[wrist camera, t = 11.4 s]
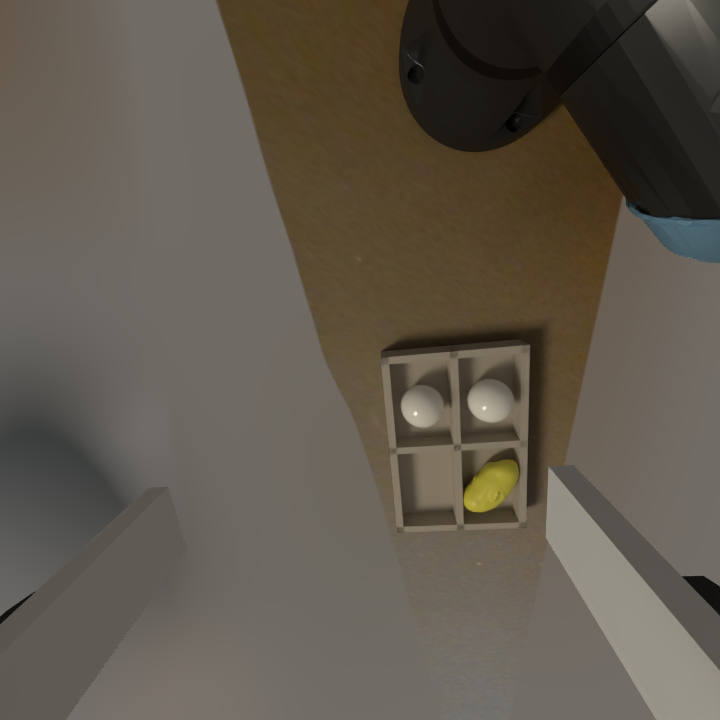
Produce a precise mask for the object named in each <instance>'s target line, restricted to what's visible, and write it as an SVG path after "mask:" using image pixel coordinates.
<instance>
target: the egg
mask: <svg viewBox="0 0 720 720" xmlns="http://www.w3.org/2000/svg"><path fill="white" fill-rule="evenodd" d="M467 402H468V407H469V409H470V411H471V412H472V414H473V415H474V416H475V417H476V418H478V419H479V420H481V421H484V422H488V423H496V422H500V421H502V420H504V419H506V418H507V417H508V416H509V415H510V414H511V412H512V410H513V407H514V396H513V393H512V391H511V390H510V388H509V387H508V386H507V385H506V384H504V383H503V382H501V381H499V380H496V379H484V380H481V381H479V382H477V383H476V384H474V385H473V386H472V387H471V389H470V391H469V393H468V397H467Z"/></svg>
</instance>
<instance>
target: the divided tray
mask: <svg viewBox="0 0 720 720" xmlns="http://www.w3.org/2000/svg"><path fill="white" fill-rule="evenodd" d="M381 366H382V376H383V386H384V397H385V407H386V418H387V428H388V439H389V449H390V460H391V470H392V481H393V491H394V502H395V512H396V523H397V532H425V531H453V530H480V529H508V528H526V505H527V460H528V415H529V370H530V345H529V344H527V343H526V342H524V341H522V340H520V339H516V340H505V341H493V342H482V343H471V344H460V345H448V346H437V347H426V348H414V349H403V350H392V351H381ZM484 379H496V380H499V381H501V382H503V383H504V384H506V385H507V386H508V387H509V388H510V390H511V391H512V393H513V396H514V407H513V410H512V412H511V414H510V415H509V416H508V417H507V418H506V419H504V420H502V421H500V422H496V423H488V422H484V421H481V420H479V419H478V418H476V417H475V416H474V415H473V414H472V412H471V411H470V409H469V407H468V402H467V397H468V393H469V391H470V389H471V387H472V386H473V385H474V384H476V383H477V382H479V381H481V380H484ZM416 385H428V386H431V387H433V388H434V389H436V390H437V391H438V392H439V393H440V394H441V396H442V398H443V401H444V413H443V416H442V418H441V419H440V420H439V422H438V423H436V424H435V425H433V426H431V427H428V428H419V427H415V426H413V425H411V424H410V423H409V422H408V421H407V420H406V419H405V418H404V416H403V414H402V411H401V401H402V398H403V396H404V394H405V393H406V391H407V390H409V389H410V388H412V387H414V386H416ZM504 459H510V460H513V461H515V462H516V463H517V464H518V468H519V478H518V481H517V483H516V485H515V487H514V489H513V490H512V491H511V493H510V494H509V495H508V497H507V498H506V499H505V500H504V501H503V502H502V503H501V504H500V505H499V506H497V507H496V508H494V509H491V510H489V511H486V512H473V511H470V510H469V509H467V508H466V507H465V505H464V503H463V493H464V489H465V487H466V486H467V485H468V484H469V483H470V482H471V481H472V480H473V478H474V476H475V475H477V474H478V472H479V471H480V470H481V468H482V467H483V466H484V465H485V464H486V463H488V462H497V461H500V460H504Z"/></svg>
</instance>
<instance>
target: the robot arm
mask: <svg viewBox="0 0 720 720" xmlns="http://www.w3.org/2000/svg"><path fill="white" fill-rule="evenodd" d="M399 74H400V82H401V87H402V91H403V94H404V98H405V100H406V103H407V105H408V108H409V110H410V112H411V113H412V115H413V117H414V118H415V120H416V121H417V123H418V124H419V125H420V126H421V128H422V129H423V130H424V131H425V132H426V133H427V134H428V135H430V136H431V137H432V138H433V139H435V140H436V141H438V142H440V143H441V144H443V145H445V146H448V147H450V148H453V149H456V150H461V151H467V152H482V151H489V150H494V149H497V148H500V147H503V146H506V145H508V144H510V143H512V142H514V141H516V140H517V139H519V138H521V137H522V136H524V135H525V134H526V133H528V132H529V131H530V130H531V129H533V128H534V127H535V126H536V125H537V124H538V123H539V122H540V121H541V120H542V119H543V118H544V117H545V116H546V115H547V114H548V113H549V112H550V111H551V110H552V109H553V108H554V106H555V105H556V104H557V103H558V101H559V100H561V101H562V103H563V104H564V106H565V107H566V109H567V110H568V112H569V113H570V115H571V116H572V118H573V119H574V121H575V122H576V124H577V125H578V127H579V128H580V130H581V131H582V133H583V134H584V136H585V137H586V139H587V140H588V142H589V143H590V145H591V146H592V148H593V149H594V151H595V153H596V154H597V156H598V157H599V159H600V160H601V162H602V163H603V165H604V166H605V168H606V169H607V171H608V172H609V174H610V175H611V177H612V178H613V180H614V181H615V183H616V184H617V186H618V187H619V189H620V190H621V192H622V193H623V195H624V196H625V198H626V205H627V207H628V208H629V210H630V211H631V212H632V213H633V214H634V215H636V216H637V217H639V218H641V219H643V221H644V222H645V223H646V224H647V226H648V227H649V228H650V230H651V231H652V232H653V233H654V235H655V236H656V237H657V239H658V240H659V241H660V242H661V243H662V244H663V246H664V247H666V248H667V249H668V250H670V251H671V252H673V253H675V254H677V255H679V256H684V257H690V258H693V259H697V260H699V261H702V262H709V263H720V0H409V2H408V5H407V8H406V12H405V16H404V20H403V24H402V30H401V38H400V50H399ZM546 538H547V540H548V542H549V543H550V545H551V547H552V548H553V550H554V552H555V553H556V555H557V556H558V558H559V560H560V561H561V563H562V565H563V566H564V568H565V570H566V571H567V573H568V575H569V576H570V578H571V580H572V581H573V583H574V584H575V586H576V588H577V589H578V591H579V593H580V594H581V596H582V598H583V599H584V601H585V603H586V604H587V606H588V608H589V609H590V611H591V613H592V614H593V616H594V618H595V619H596V621H597V622H598V624H599V626H600V627H601V629H602V631H603V632H604V634H605V636H606V637H607V639H608V641H609V642H610V644H611V646H612V647H613V649H614V651H615V652H616V654H617V655H618V657H619V659H620V660H621V662H622V664H623V665H624V667H625V669H626V670H627V672H628V674H629V675H630V677H631V679H632V680H633V682H634V684H635V685H636V687H637V688H638V690H639V692H640V693H641V695H642V696H643V698H644V700H645V702H646V703H647V705H648V707H649V708H650V710H651V711H652V713H653V715H654V717H655V718H656V720H720V587H719V586H718V585H717V584H715V583H713V582H712V581H710V580H709V579H707V578H706V577H704V576H681V575H680V574H679V573H678V572H677V571H676V570H675V569H674V568H673V567H672V566H671V565H670V564H669V563H668V562H667V561H666V560H665V559H664V558H663V557H662V556H661V555H660V554H659V553H658V552H657V551H656V550H655V549H654V547H653V546H652V545H651V544H650V543H649V542H648V541H646V539H645V538H644V537H643V536H642V535H641V534H640V533H639V532H638V531H637V530H636V529H635V528H634V527H633V526H632V525H631V524H630V523H629V522H628V521H627V520H626V519H625V518H624V517H623V516H622V515H621V513H620V512H619V511H617V509H616V508H614V506H613V505H612V504H611V503H610V502H609V501H608V500H607V499H606V498H605V497H604V496H603V495H602V494H601V493H600V492H599V491H598V490H597V489H596V488H595V487H594V486H593V485H592V484H591V483H590V482H589V481H588V480H587V479H586V477H584V475H583V474H582V473H581V472H580V471H579V470H578V469H577V468H576V467H575V466H573V465H571V466H552V467H549V472H548V497H547V521H546ZM185 551H186V546H185V542H184V539H183V536H182V532H181V529H180V525H179V522H178V519H177V515H176V512H175V508H174V505H173V501H172V498H171V495H170V491H169V488H168V487H154V488H148V489H147V490H146V491H145V492H143V493H142V494H141V495H140V496H139V497H138V498H137V499H136V500H135V501H134V502H132V503H131V504H130V505H129V506H128V507H127V508H126V509H125V510H124V511H123V512H122V513H121V514H119V515H118V516H117V517H116V518H115V519H114V520H113V521H112V522H111V523H110V524H109V525H108V526H107V527H105V528H104V529H103V530H102V531H101V532H100V533H99V534H98V535H97V536H96V537H95V538H93V539H92V540H91V541H90V542H89V543H88V544H87V545H86V546H85V547H84V548H83V549H82V550H80V551H79V552H78V553H77V554H76V555H75V556H74V557H73V558H72V559H71V560H70V561H69V562H67V563H66V564H65V565H64V566H63V567H62V568H61V569H60V570H59V571H58V572H57V573H56V574H54V576H52V577H51V578H50V579H49V580H48V581H47V582H46V583H45V584H44V585H42V586H41V587H40V588H39V589H38V590H37V591H36V592H34V593H32V594H30V595H29V596H28V597H26V598H25V599H23V600H22V601H20V602H19V603H17V604H16V605H14V606H13V607H12V608H10V609H9V610H7V611H6V612H5V613H4V614H3V615H2V616H0V720H66V718H67V717H68V716H69V714H70V713H71V711H72V710H73V709H74V707H75V706H76V704H77V703H78V702H79V700H80V699H81V697H82V696H83V695H84V693H85V692H86V690H87V689H88V687H89V686H90V685H91V683H92V682H93V680H94V679H95V678H96V676H97V675H98V673H99V672H100V671H101V669H102V667H103V666H104V664H105V663H106V662H107V661H108V659H109V658H110V656H111V655H112V653H113V652H114V651H115V649H116V648H117V647H118V645H119V644H120V642H121V641H122V640H123V638H124V637H125V635H126V634H127V632H128V631H129V630H130V628H131V627H132V625H133V624H134V623H135V621H136V620H137V618H138V617H139V616H140V614H141V612H142V611H143V610H144V608H145V607H146V606H147V604H148V603H149V601H150V600H151V599H152V597H153V595H154V594H155V593H156V592H157V590H158V589H159V587H160V586H161V585H162V583H163V582H164V580H165V579H166V577H167V576H168V575H169V573H170V571H171V570H172V569H173V567H174V566H175V565H176V563H177V562H178V560H179V559H180V558H181V556H182V555H183V553H184V552H185Z"/></svg>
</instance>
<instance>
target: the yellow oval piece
mask: <svg viewBox="0 0 720 720" xmlns="http://www.w3.org/2000/svg"><path fill="white" fill-rule="evenodd" d="M518 478H519V468H518V464H517V463H516V462H515V461H513V460H510V459H504V460H500V461H497V462H488V463H486V464H485V465H484V466H483V467H482V468H481V470H480V471H479V472H478V474H477V475H475V476H474V478H473V480H472V481H471V482H470V483H469V484H468V485H467V486H466V487H465V489H464V493H463V503H464V505H465V507H466V508H467V509H469V510H470V511H473V512H486V511H489V510H491V509H494V508H496V507H497V506H499V505H500V504H501V503H502V502H503V501H504V500H505V499H506V498H507V497H508V495H509V494H510V493H511V491H512V490H513V489H514V487H515V485H516V483H517V481H518Z"/></svg>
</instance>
